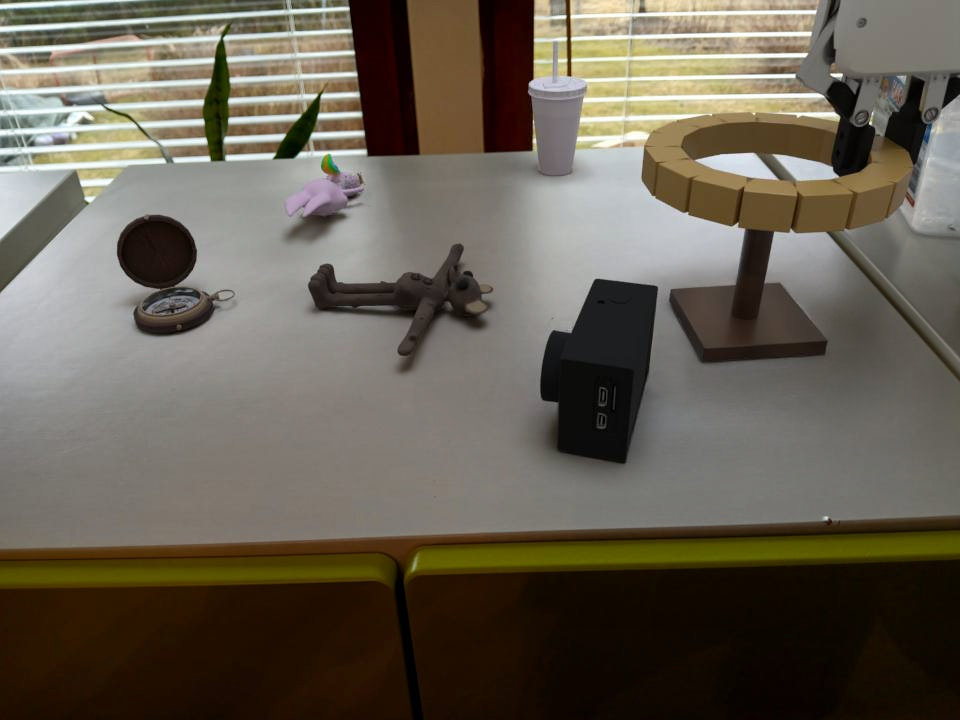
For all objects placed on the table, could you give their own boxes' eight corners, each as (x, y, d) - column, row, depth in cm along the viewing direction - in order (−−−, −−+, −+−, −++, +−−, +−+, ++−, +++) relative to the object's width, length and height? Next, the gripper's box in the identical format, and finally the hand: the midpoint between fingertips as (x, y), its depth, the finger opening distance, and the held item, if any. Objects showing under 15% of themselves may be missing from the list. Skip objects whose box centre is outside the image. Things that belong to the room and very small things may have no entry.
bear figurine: (349, 223, 72) (507, 217, 68) (359, 266, 74) (512, 262, 70) (266, 324, 57) (461, 323, 54) (281, 374, 59) (470, 375, 56)
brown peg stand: (777, 295, 65) (799, 187, 60) (825, 354, 57) (854, 237, 52) (668, 301, 64) (681, 193, 59) (702, 362, 57) (720, 245, 52)
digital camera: (573, 360, 58) (577, 273, 54) (649, 371, 56) (658, 283, 52) (537, 448, 49) (539, 353, 45) (625, 464, 48) (634, 367, 44)
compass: (140, 343, 61) (113, 258, 57) (131, 299, 67) (106, 219, 63) (244, 318, 64) (226, 235, 60) (226, 278, 70) (208, 200, 66)
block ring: (832, 138, 62) (839, 107, 60) (955, 225, 48) (968, 187, 46) (619, 148, 61) (622, 117, 60) (681, 239, 47) (686, 201, 46)
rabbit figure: (325, 197, 89) (267, 232, 75) (321, 143, 86) (260, 168, 73) (379, 200, 88) (329, 235, 74) (376, 145, 85) (324, 171, 72)
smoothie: (516, 172, 90) (515, 42, 82) (549, 156, 94) (552, 31, 86) (562, 184, 87) (566, 49, 79) (594, 167, 91) (601, 38, 83)
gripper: (1043, -143, 48) (951, 154, 58) (782, -135, 47) (735, 164, 57) (1137, -140, 42) (1016, 191, 52) (839, -131, 41) (775, 203, 51)
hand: (869, 175), depth 55 cm, fingers closed on block ring, 2 cm apart
